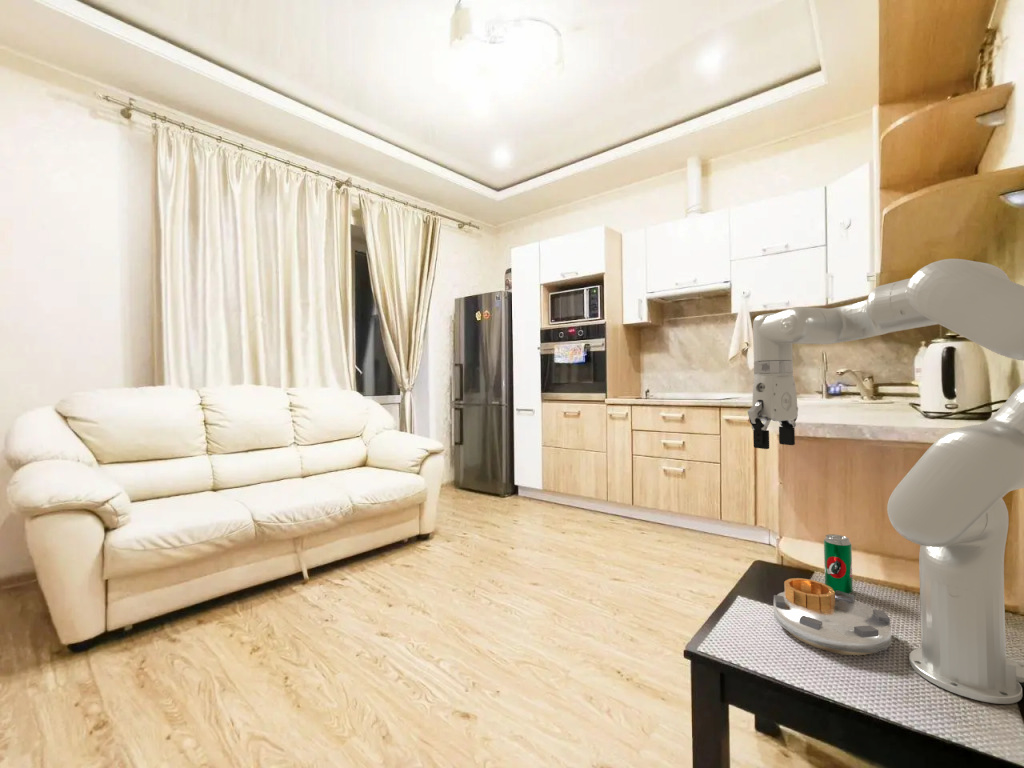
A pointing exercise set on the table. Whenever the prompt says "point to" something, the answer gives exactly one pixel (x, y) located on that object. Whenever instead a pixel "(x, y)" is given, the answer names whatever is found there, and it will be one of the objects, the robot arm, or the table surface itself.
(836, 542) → the soda can
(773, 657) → the table surface
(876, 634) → the oval platform with pads
